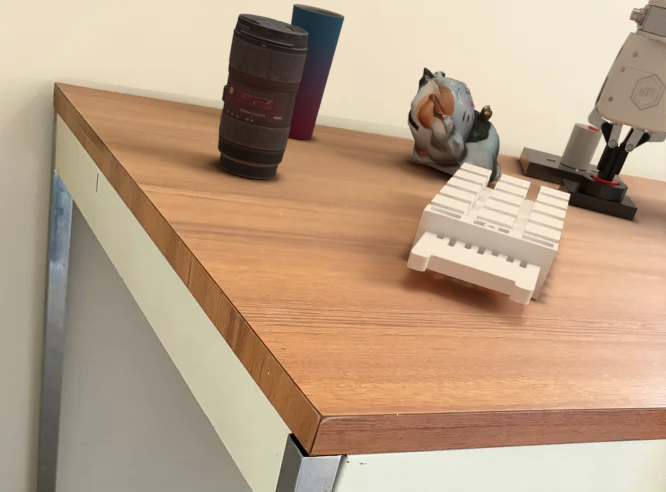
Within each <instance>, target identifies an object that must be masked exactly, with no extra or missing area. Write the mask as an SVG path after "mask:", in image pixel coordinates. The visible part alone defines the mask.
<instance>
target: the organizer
mask: <svg viewBox="0 0 666 492" xmlns="http://www.w3.org/2000/svg"><path fill="white" fill-rule="evenodd" d="M491 173H492V171H491V170H488V169H485V168H481V167H478V166H475V165H471V164H468V163H464V164H463V165H462V166H461V167H460V169H459V170H458V171H457V172H456V173H455V174H454V176H453V175H452V177H450V179H449V180H448V181H447V182H446V184H445V185H444V186H442V188H441V189H440V190H439V192H438V193H437V194H436V195H435V196H434V197H433V198H432V199H431V201H430V203H428V204H427V205H426V207H425V208H424V209H423V210H422V211H423V212H422V214H421V217H420V221H419V224H418V227H417V230H416V234H415V237H414V240H413V243H412V246H411V250H410V253H409V255H408V259H407V263H406V267H407V268H409V269H412V270H415V271H418V272H425V271H426V270H430V271H433V272H436V273H439V274H442V275H445V276H449V277H451V278H454V279H457V280H461V281H464V282H467V283H469V284H473V285H476V286H479V287H482V288H486V289H489V290H492V291H495V292H498V293H501V294H505V295H508V296H509V297H508V299H509V300H510V301H511V302H514V303H517V304H520V305H525V306H527V305H529V303H530V301H531V299H533V300H536V301H537V300H538V298H539V295H540V293H541V290H542V288H543V286H544V283H545V281H546V279H547V277H548V275H549V271H550V270H551V267H552V264H553V262H554V260H555V257H556V255H557V252H558V248H559V246H560V245H559V244H560V241H561V236H562V231H563V227H564V224H565V219H566V214H567V210H568V206H569V204H568V201H569V198H570V194H569V193H565V192H562V191H559V190H558V189H555V188H552V187H548V186H545V185H541V186H540V188H539V191H538V194H537V196H536V199H535V200H531V199H528V198H526V196H527V194H528V192H529V188H530V186H531V183H532V182H531V181H528V180H526V179H521V178H518V177H515V176H511V175H508V174H504V173H501V174H502V175H500V178H499V179H498V180H497V182H496V183H495V186H494V188H490V187H488V185H489V184H488V182H489V179H490V176H491ZM487 184H488V185H487Z"/></svg>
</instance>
